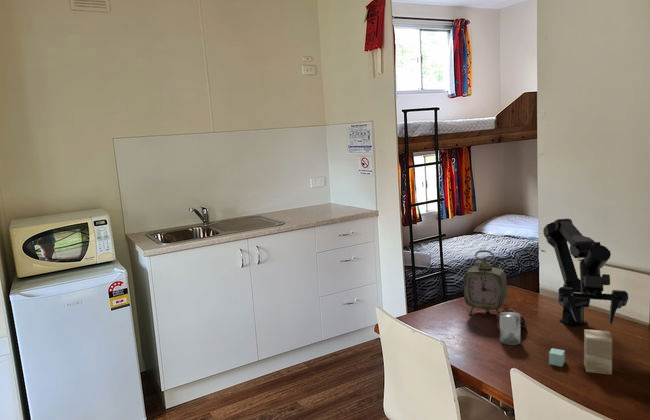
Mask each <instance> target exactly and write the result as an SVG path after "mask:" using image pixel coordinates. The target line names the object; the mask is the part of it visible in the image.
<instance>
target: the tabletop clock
mask: <svg viewBox="0 0 650 420" xmlns="http://www.w3.org/2000/svg"><path fill="white" fill-rule="evenodd" d="M479 253H489V254H491V256H492V257H491V258H489V259H487V257H483V258H480V257H478V256H477V254H479ZM474 257H475V258H476V259H477V260H478V261H481V262H479V264H478V265H477V266H473V267H470V268H469V269H468V270H467V272H465V274H464V276H463V284H462V285H463V286H462V289H463V290H462V291H463V298H464V301H465V303H466V305H467V306H469V307H471V308H470V309H469V310H468V311H467V313H468V314H469V315H472V314H473V313H474V312H473V310H474V308H476V309H482V310H485V312H486V313H489V312H490V310H495V311H496V312H497V314H496V317H497V316H498V314H499V313H500V311H499V309H501V307H503V304H504V303H505V301H506V299H507V294H508V283H507V275H506V273H505V270H503V269H501V268H498V267H493V265H492V264H491V263H490V262H491V261H493V260H494V259H495V255H494V253H493V252H491V250H486V249H481V250H478V251H476V252H475V254H474Z"/></svg>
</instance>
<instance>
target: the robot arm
mask: <svg viewBox="0 0 650 420" xmlns="http://www.w3.org/2000/svg"><path fill="white" fill-rule="evenodd" d="M542 230H543V235H544V237H545V239H546V242H547V243H548V245H550V246H551V247H552V248H553V249H554V251H555V252H554V253H555V255H556V259H557V263H558V266H559V269H560V272H561V276H562V280H563V285H562V286H560V287H559V288H558V292H557V301H558V305H560V307H562V318H561V319H559V322H561V323H563V324H567V325H568V326H570V327H579V326H583V325H587V324H588V323H589V321H586V320H585V308H589V307H590V303H591V300H596V301H610V304H609V305H610V306H609V324H610V325H612V324H613V321H614V318H615V315H616V311H617V310H618V309H621V308H622V307H626V306H627V303H628V300H629V293H628V292H627V291H626V290H619V289H612V291H611V293H603V292H604V286H610V285H611V277H610V276H611V275H610V274H608V273H606V274H604V273H603V274H602V275H601V269H603V267H605V265H606V264H607V262H608V260H610V259H611V256H612V253H611V250H610V249H608V247H606V246H604V245H601V242H600V241H595V240H594V239H592V238H591V237H588V236H585V235H583V234H582V233H581V232H580V230H579V229H578V228H577V227H576V226H575V225H574V223H573V220H572V219H570V218H558V219H555V220H554V221H552V222H550V223H548V224H546V225H545V226H544V228H543V229H542ZM568 244H569V245H568ZM573 258H574V259H581V260H580V261H579V276H580V277H579V276H578V273H577V271H576V266H575V264H574V261H573Z"/></svg>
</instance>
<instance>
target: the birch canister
mask: <svg viewBox="0 0 650 420" xmlns="http://www.w3.org/2000/svg"><path fill="white" fill-rule="evenodd" d="M583 364H584V369H585V372H586V373H590V374H591V373H592V374H603V375H613V337H612V334H611V332H610V331H609V330H598V329H583Z"/></svg>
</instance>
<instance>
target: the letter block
mask: <svg viewBox="0 0 650 420" xmlns="http://www.w3.org/2000/svg"><path fill="white" fill-rule="evenodd" d="M565 356H566V352H565V350H564V349H558V348H553V347H552V348H551V349H550V350H549V351H548V365H550V366H551V365H552V366H557V367H564V364H565V362H566V361H565V360H566V359H565V358H566V357H565Z"/></svg>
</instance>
